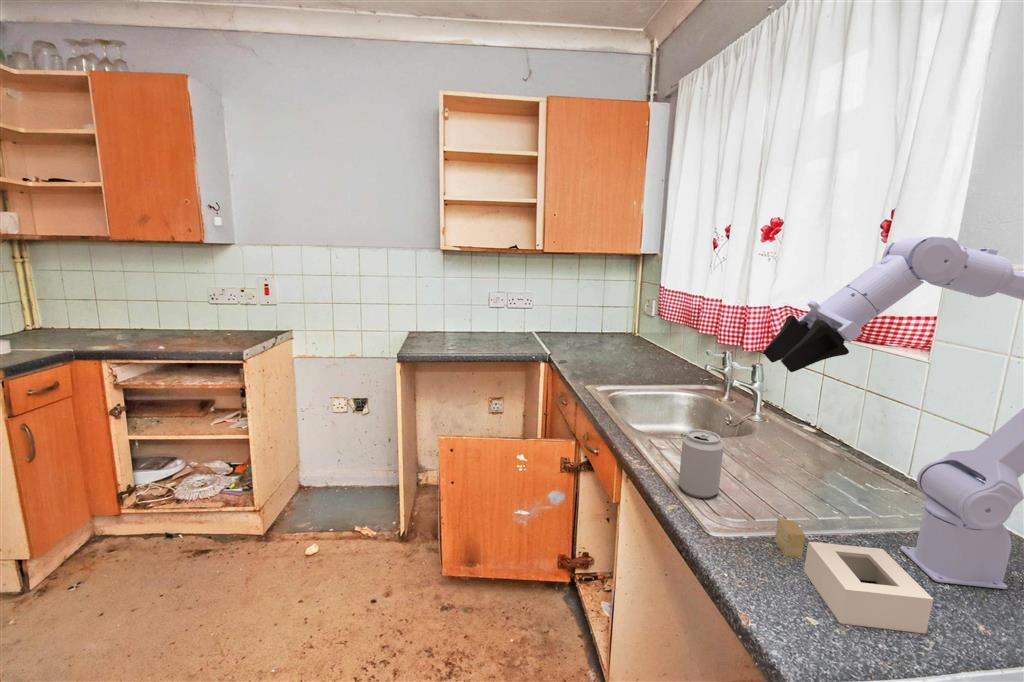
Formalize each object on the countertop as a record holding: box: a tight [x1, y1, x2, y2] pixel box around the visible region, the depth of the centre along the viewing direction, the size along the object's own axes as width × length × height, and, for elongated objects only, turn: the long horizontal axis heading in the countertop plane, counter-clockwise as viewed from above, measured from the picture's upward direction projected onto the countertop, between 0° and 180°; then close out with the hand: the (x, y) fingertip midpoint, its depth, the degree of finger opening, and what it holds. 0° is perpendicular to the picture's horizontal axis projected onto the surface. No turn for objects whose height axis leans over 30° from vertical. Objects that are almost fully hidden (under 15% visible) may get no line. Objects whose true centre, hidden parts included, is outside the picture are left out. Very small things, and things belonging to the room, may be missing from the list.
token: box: [774, 518, 806, 558], centre depth 75 cm, size 2×4×4 cm, turn 171°
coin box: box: [803, 541, 934, 634], centre depth 64 cm, size 10×10×5 cm
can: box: [678, 428, 725, 499], centre depth 92 cm, size 8×8×12 cm
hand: (776, 361), depth 69 cm, fingers open, 7 cm apart
